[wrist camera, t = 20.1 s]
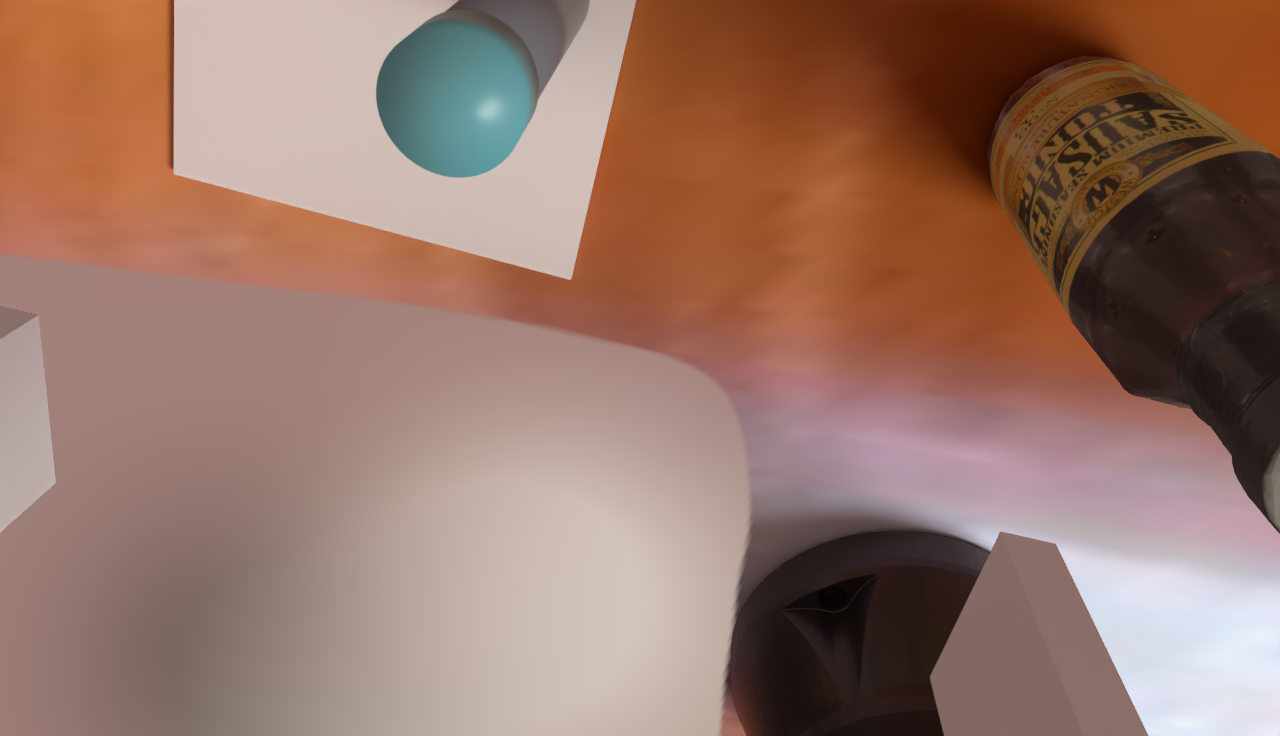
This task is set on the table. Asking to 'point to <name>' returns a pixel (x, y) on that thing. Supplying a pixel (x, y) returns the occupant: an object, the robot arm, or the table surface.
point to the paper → (355, 137)
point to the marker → (473, 80)
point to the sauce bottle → (1155, 244)
